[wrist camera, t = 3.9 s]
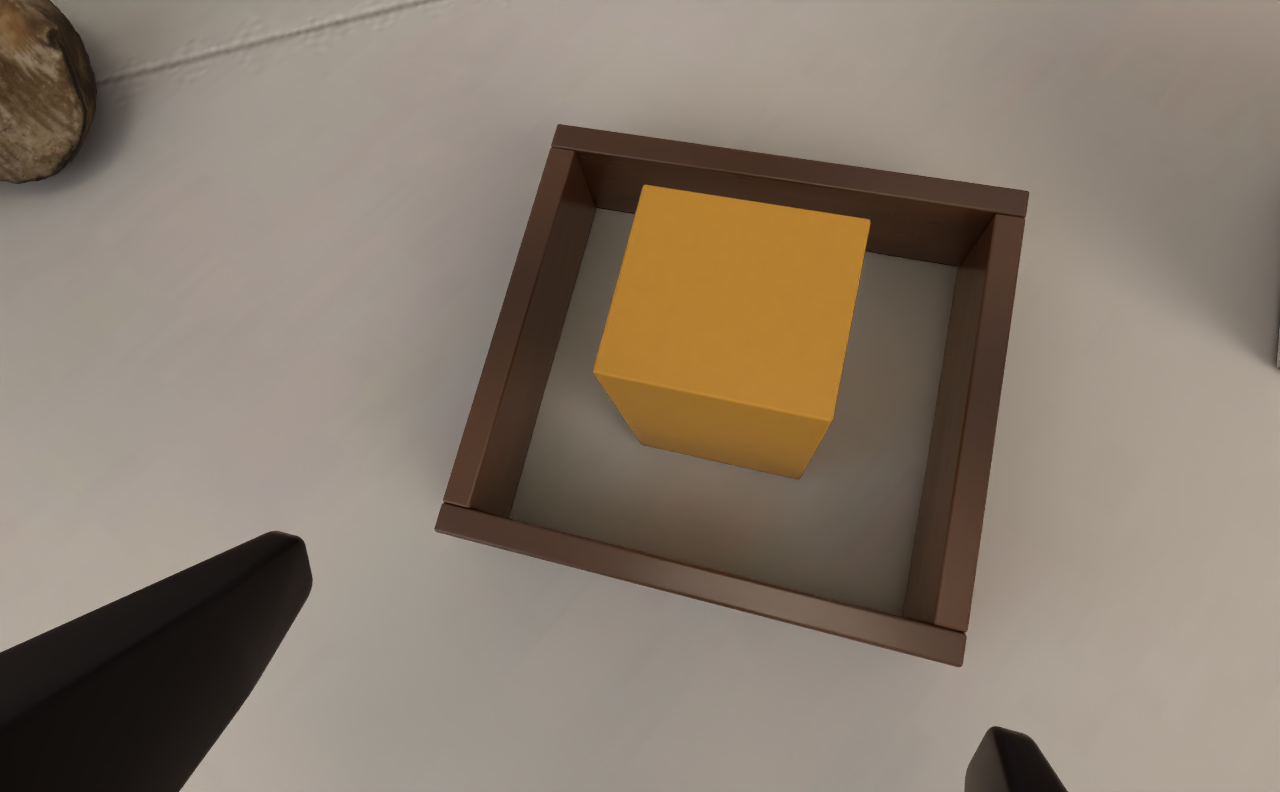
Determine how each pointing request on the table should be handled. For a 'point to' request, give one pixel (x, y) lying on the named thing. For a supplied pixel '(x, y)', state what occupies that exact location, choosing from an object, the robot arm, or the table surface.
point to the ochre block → (731, 327)
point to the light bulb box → (1279, 356)
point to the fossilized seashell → (41, 91)
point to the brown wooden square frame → (900, 225)
